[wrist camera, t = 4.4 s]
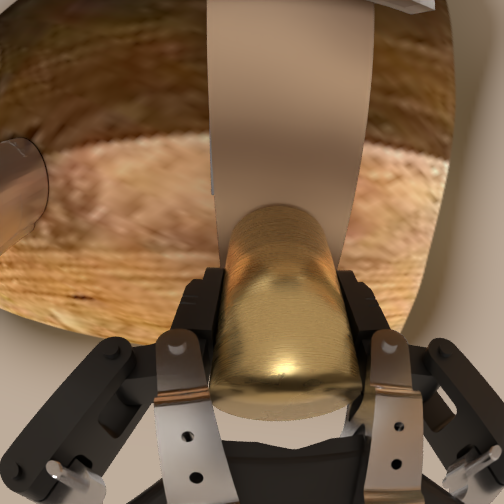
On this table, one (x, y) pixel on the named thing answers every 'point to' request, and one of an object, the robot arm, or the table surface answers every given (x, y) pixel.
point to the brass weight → (282, 323)
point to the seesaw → (290, 106)
